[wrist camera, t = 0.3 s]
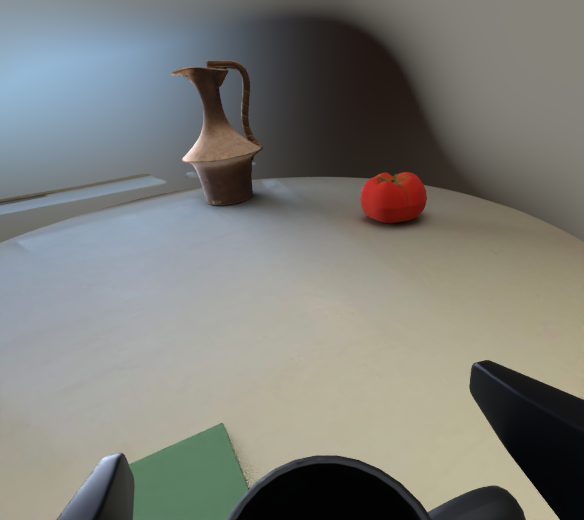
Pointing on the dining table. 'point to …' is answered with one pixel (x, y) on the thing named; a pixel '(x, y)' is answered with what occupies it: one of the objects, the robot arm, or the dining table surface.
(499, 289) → the dining table surface
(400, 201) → the tomato
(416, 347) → the dining table surface
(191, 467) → the green mat
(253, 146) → the pitcher
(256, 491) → the mug
